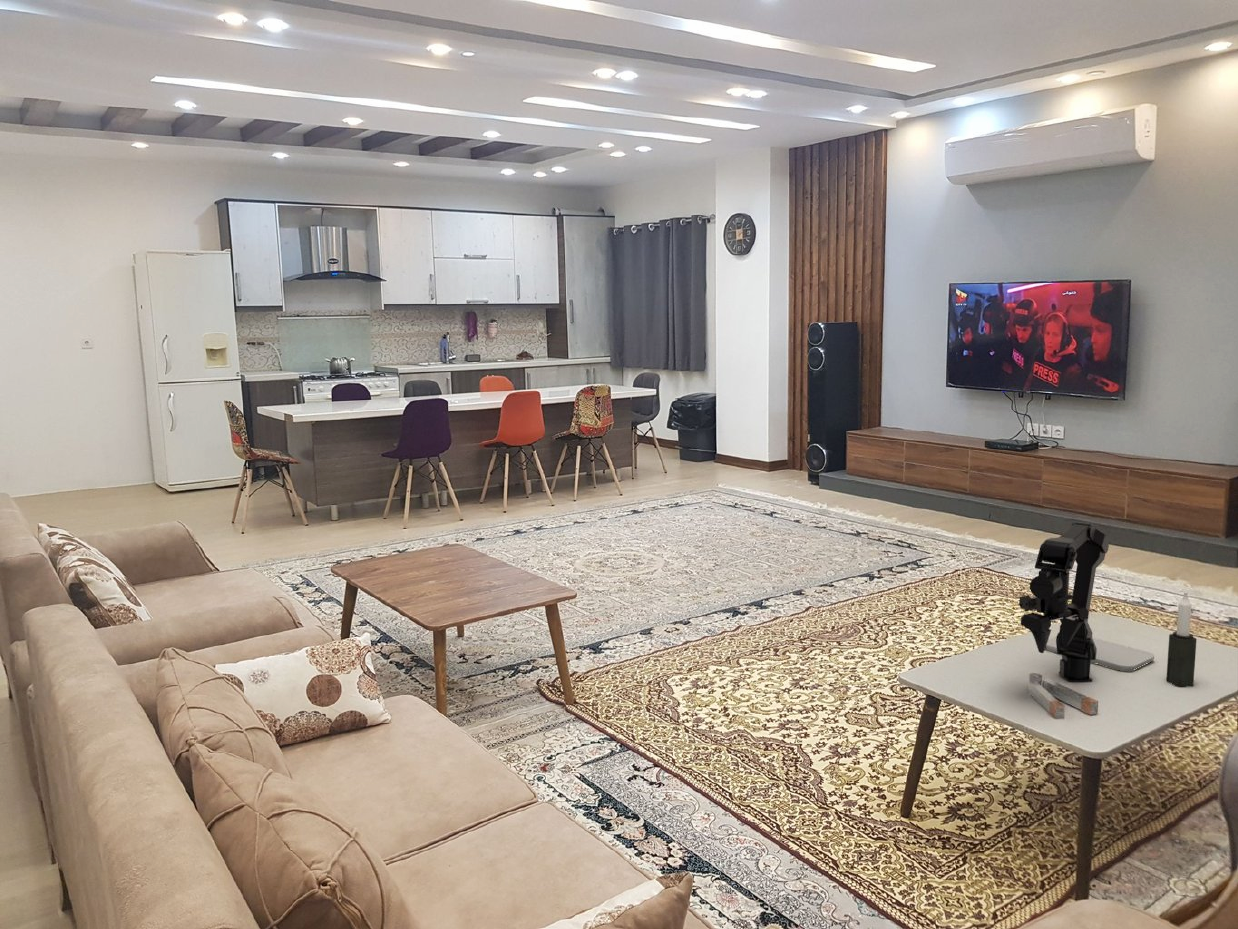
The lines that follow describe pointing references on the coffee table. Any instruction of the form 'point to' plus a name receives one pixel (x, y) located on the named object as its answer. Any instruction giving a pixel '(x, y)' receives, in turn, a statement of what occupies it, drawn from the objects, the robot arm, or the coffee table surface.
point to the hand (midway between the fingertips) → (1053, 649)
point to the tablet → (1114, 655)
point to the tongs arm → (1071, 697)
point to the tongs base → (1045, 696)
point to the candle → (1182, 648)
